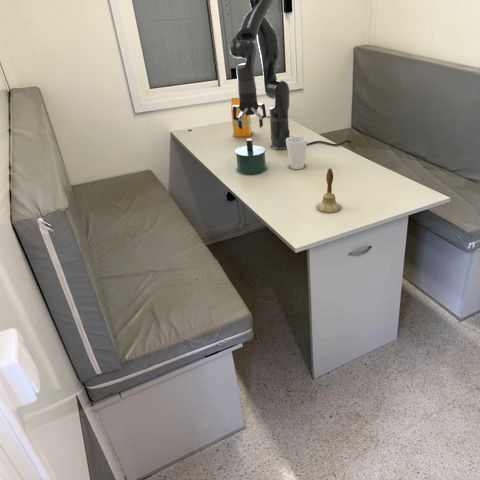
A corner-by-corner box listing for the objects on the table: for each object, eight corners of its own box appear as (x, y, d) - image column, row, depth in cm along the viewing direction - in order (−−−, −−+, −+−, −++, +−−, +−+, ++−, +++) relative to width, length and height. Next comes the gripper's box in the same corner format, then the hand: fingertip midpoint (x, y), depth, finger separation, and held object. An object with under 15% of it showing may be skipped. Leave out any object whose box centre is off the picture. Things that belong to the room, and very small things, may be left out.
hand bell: (338, 202, 169) (339, 164, 161) (340, 212, 162) (341, 173, 154) (317, 203, 169) (317, 164, 160) (318, 212, 162) (318, 173, 153)
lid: (263, 146, 201) (263, 133, 198) (267, 157, 190) (266, 143, 186) (234, 148, 199) (233, 135, 195) (235, 159, 187) (234, 145, 184)
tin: (264, 163, 205) (262, 146, 200) (267, 173, 194) (265, 155, 190) (237, 165, 202) (235, 148, 198) (238, 175, 192) (236, 157, 187)
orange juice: (249, 136, 239) (246, 99, 228) (233, 136, 239) (229, 99, 229) (251, 132, 246) (248, 96, 235) (236, 132, 246) (232, 96, 235)
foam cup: (310, 164, 203) (310, 137, 196) (301, 171, 196) (301, 144, 189) (292, 161, 206) (291, 135, 200) (283, 168, 199) (282, 141, 193)
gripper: (263, 87, 187) (266, 124, 196) (229, 89, 184) (234, 126, 193) (264, 91, 181) (267, 129, 190) (230, 93, 178) (235, 132, 187)
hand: (251, 128), depth 191 cm, fingers open, 8 cm apart
